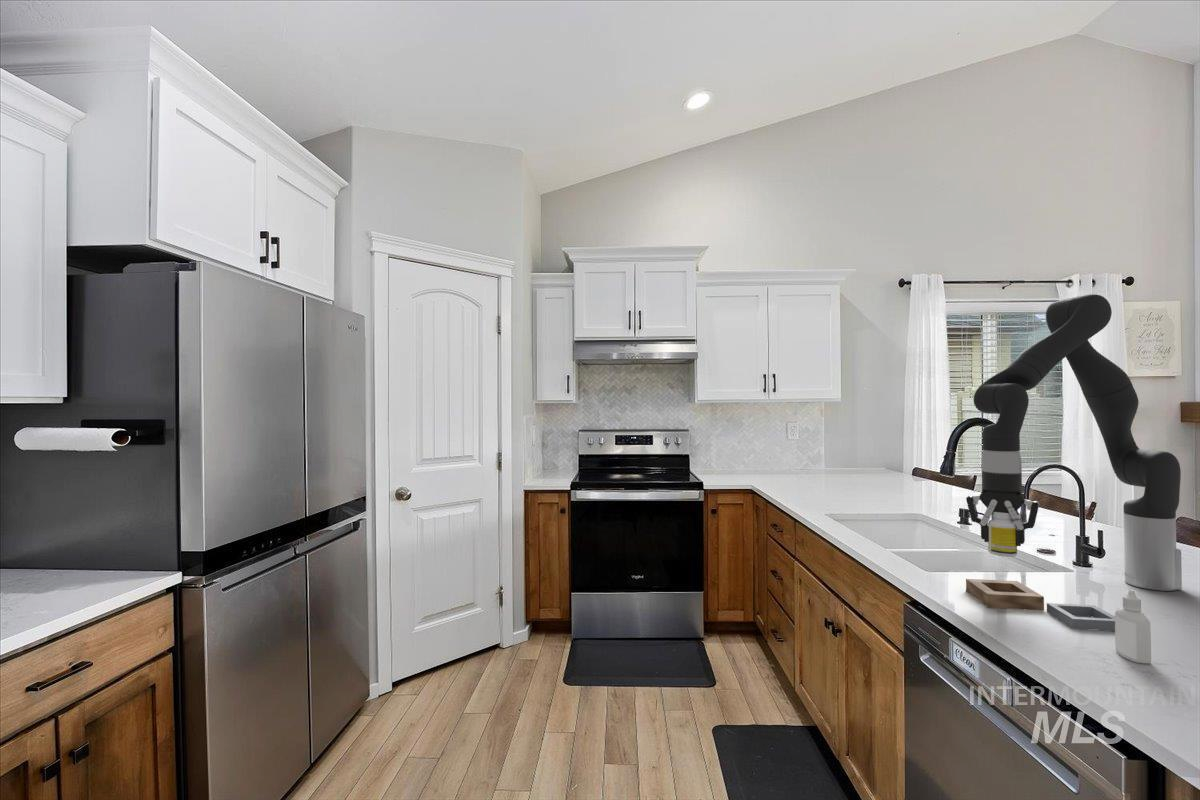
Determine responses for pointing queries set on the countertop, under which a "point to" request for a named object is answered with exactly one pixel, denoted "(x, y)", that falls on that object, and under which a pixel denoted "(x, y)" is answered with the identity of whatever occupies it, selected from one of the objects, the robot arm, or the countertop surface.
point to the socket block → (1004, 594)
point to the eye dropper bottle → (1132, 631)
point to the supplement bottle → (1002, 535)
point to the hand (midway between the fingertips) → (1002, 543)
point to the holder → (1069, 612)
